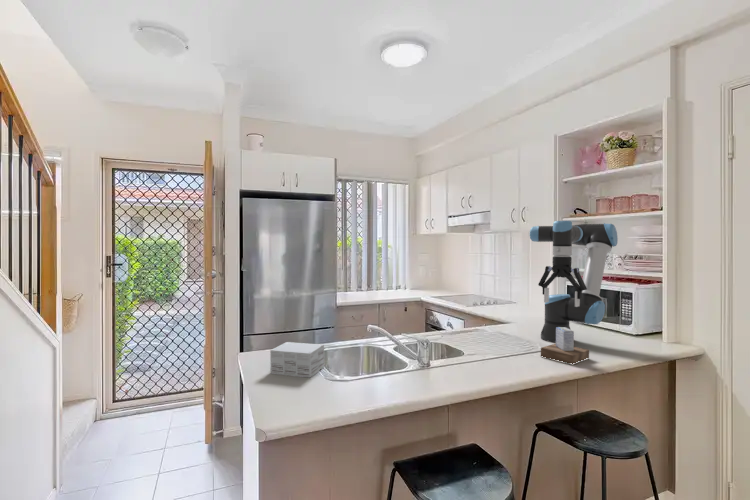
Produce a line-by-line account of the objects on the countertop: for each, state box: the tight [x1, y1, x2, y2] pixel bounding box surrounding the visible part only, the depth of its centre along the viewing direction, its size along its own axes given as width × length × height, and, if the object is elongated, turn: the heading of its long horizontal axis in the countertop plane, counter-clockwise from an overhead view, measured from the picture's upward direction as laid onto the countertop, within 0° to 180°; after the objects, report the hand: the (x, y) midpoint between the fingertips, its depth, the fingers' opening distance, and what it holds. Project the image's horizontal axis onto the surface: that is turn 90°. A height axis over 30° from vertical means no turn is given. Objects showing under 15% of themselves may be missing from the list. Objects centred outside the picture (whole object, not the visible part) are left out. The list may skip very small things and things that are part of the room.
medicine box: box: [555, 327, 575, 351], centre depth 172 cm, size 8×4×9 cm, turn 178°
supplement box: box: [269, 341, 325, 378], centre depth 154 cm, size 17×13×9 cm
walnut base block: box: [540, 343, 590, 364], centre depth 172 cm, size 14×14×4 cm
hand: (561, 304), depth 173 cm, fingers open, 13 cm apart
